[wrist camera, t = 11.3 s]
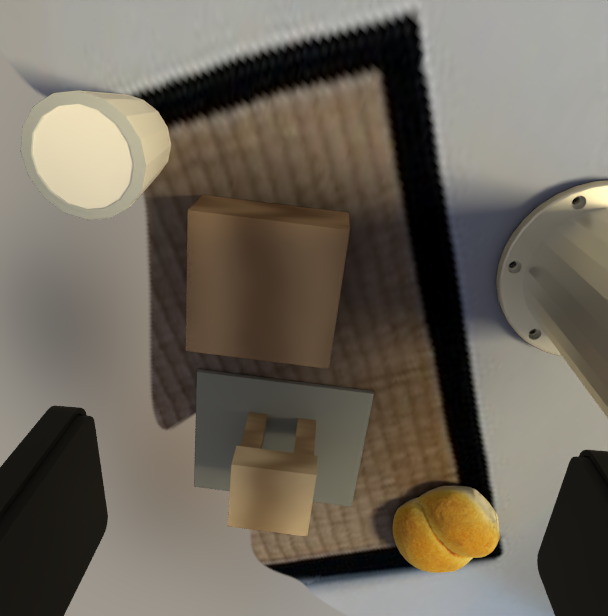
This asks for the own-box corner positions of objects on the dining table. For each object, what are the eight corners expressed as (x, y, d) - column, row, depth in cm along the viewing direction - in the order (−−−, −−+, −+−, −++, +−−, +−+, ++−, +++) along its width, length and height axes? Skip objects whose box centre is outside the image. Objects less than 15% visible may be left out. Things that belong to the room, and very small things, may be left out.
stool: (319, 418, 43) (316, 475, 37) (311, 474, 46) (307, 536, 40) (246, 408, 43) (231, 464, 37) (242, 465, 46) (227, 526, 40)
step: (348, 212, 36) (349, 230, 33) (329, 340, 41) (329, 368, 37) (202, 194, 36) (187, 210, 33) (199, 324, 41) (185, 350, 37)
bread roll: (374, 513, 48) (377, 550, 45) (459, 466, 45) (470, 502, 42) (427, 565, 51) (433, 605, 47) (511, 524, 48) (525, 563, 44)
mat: (373, 391, 42) (373, 394, 42) (351, 503, 47) (351, 506, 47) (198, 369, 42) (197, 371, 42) (195, 483, 48) (194, 486, 47)
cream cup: (131, 212, 37) (89, 244, 31) (55, 132, 35) (-7, 149, 29) (201, 148, 35) (171, 168, 29) (125, 59, 33) (74, 59, 27)
